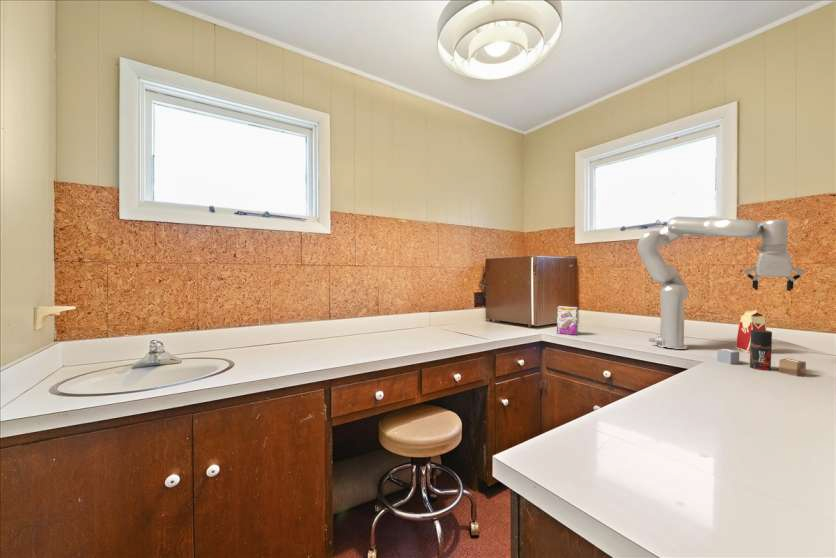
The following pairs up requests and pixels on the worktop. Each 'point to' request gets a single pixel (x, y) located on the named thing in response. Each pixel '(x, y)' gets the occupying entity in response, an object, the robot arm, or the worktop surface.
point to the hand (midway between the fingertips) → (772, 290)
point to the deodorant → (760, 349)
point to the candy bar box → (567, 320)
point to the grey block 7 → (728, 356)
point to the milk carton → (749, 328)
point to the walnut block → (792, 367)
